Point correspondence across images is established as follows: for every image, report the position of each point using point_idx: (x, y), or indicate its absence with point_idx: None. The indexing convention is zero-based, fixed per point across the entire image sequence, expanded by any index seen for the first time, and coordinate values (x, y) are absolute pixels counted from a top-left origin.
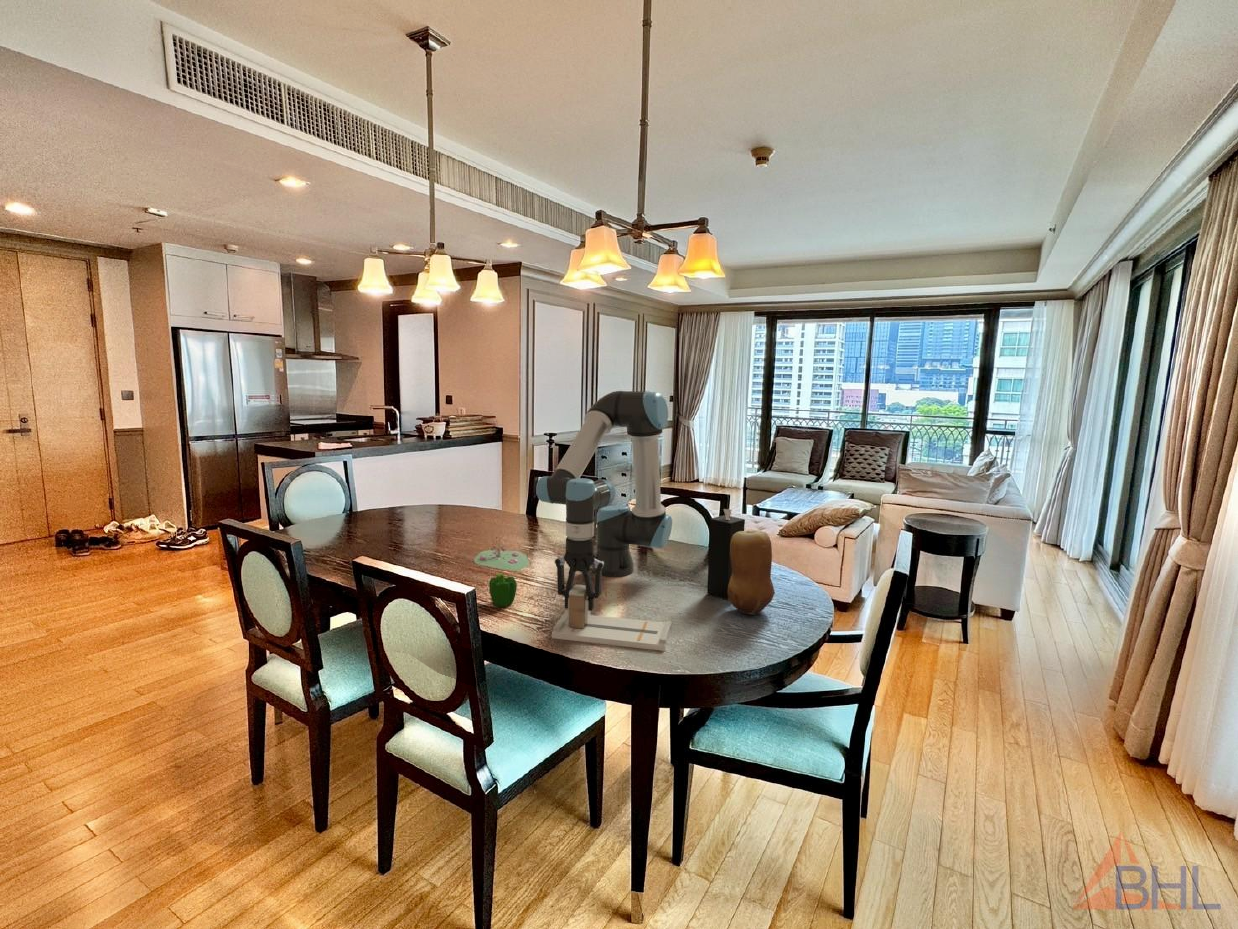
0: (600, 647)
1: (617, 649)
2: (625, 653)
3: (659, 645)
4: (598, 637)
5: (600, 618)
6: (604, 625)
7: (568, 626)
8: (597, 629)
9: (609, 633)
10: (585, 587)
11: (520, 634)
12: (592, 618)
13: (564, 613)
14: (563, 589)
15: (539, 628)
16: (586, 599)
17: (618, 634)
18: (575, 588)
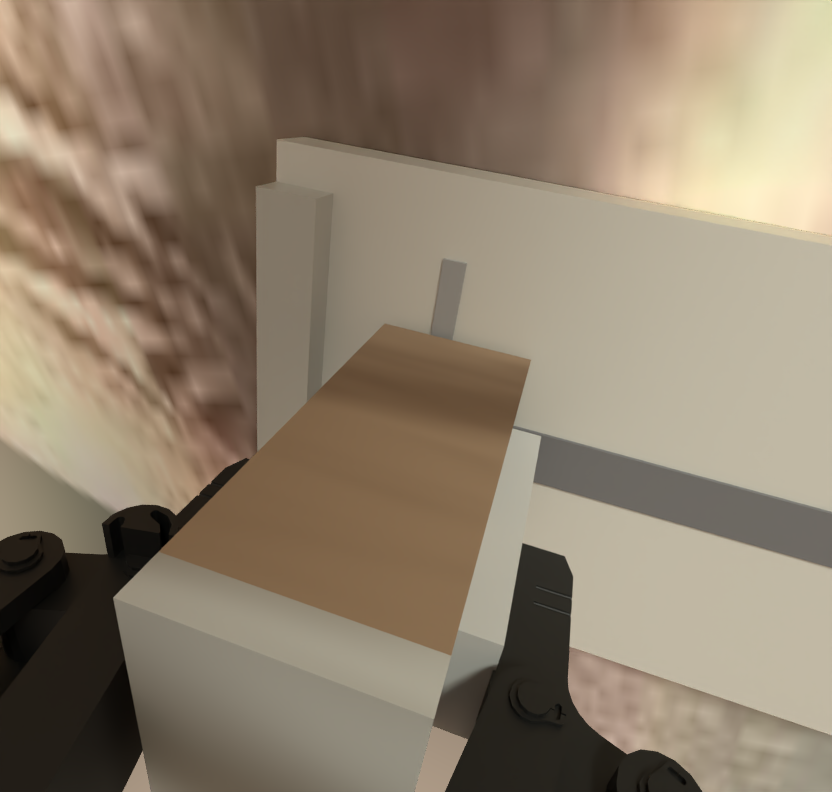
0: (625, 669)
1: (751, 712)
2: (801, 762)
3: None
4: (615, 657)
5: (671, 294)
6: (696, 479)
7: None
8: (615, 539)
9: (723, 615)
10: (361, 778)
11: (103, 455)
12: (571, 296)
13: (259, 273)
14: (35, 626)
15: (166, 375)
16: (449, 713)
17: (811, 643)
18: (196, 766)
